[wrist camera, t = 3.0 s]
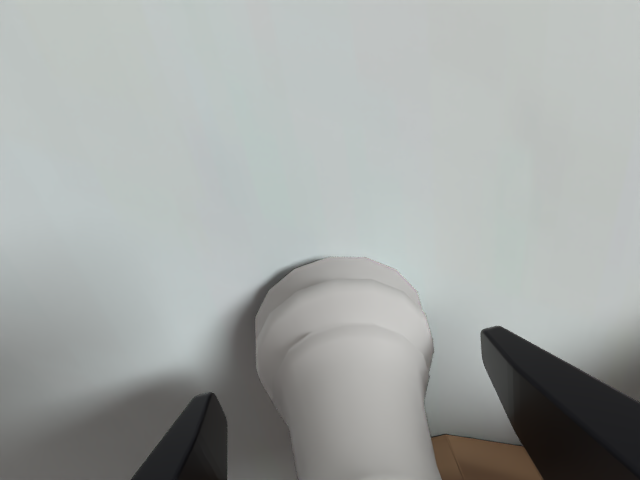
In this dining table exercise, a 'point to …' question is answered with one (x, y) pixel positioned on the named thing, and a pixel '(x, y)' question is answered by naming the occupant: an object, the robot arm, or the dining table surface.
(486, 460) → the walnut bead ring
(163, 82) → the dining table surface
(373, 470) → the rook chess piece
